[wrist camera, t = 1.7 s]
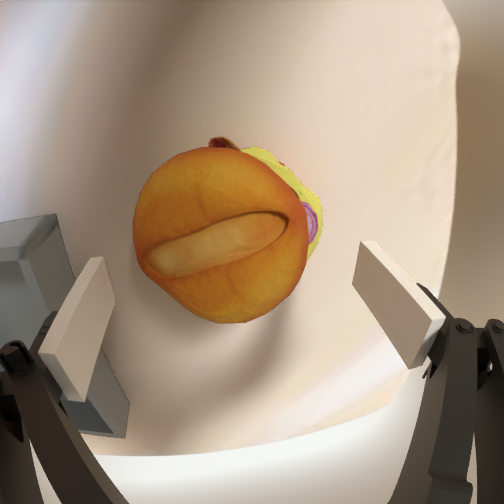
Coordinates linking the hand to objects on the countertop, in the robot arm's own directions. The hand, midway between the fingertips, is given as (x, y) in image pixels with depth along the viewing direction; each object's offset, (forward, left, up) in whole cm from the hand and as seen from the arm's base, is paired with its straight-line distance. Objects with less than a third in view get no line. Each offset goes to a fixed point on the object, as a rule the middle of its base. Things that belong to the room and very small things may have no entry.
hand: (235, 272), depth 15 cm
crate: (+11, -21, -7) cm, 24 cm away
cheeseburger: (0, 0, -7) cm, 7 cm away
